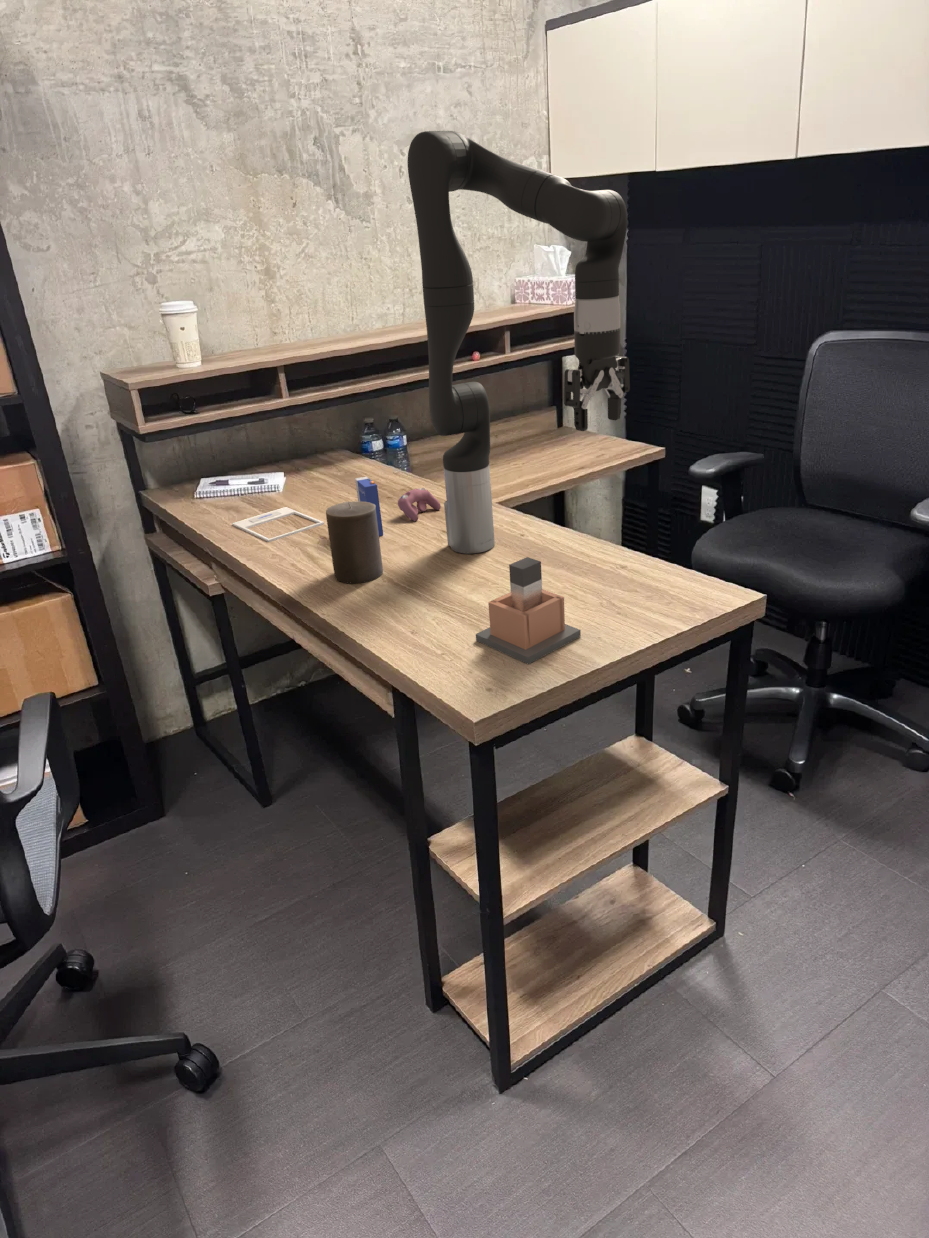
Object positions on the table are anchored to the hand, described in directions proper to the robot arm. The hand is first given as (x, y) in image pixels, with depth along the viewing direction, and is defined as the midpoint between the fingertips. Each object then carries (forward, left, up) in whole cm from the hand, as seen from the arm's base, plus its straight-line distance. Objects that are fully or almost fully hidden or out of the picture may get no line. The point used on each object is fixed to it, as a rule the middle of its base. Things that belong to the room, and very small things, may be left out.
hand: (597, 425), depth 144 cm
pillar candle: (-37, -29, -28) cm, 55 cm away
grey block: (+8, -27, -27) cm, 39 cm away
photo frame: (-78, -24, -29) cm, 86 cm away
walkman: (-55, -13, -28) cm, 63 cm away
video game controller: (-56, +1, -28) cm, 62 cm away
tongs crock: (+8, -27, -28) cm, 40 cm away
